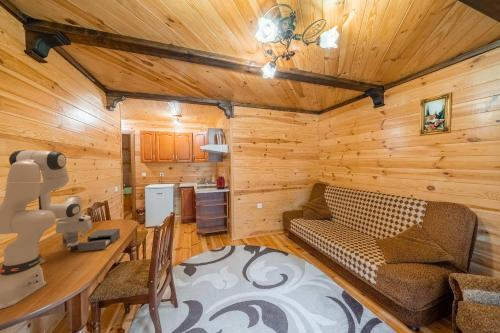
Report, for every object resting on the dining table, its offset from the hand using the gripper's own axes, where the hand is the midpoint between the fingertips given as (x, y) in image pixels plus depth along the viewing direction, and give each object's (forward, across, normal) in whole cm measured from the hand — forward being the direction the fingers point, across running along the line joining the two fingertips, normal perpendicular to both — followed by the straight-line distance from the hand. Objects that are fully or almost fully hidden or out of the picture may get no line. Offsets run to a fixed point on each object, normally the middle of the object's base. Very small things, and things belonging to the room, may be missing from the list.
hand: (74, 237), depth 134 cm
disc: (+5, 0, -1) cm, 5 cm away
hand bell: (+9, -12, -16) cm, 21 cm away
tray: (+8, +13, +1) cm, 15 cm away
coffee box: (+9, -8, +10) cm, 16 cm away
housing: (+9, +13, +12) cm, 20 cm away
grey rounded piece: (+9, 0, -1) cm, 9 cm away
